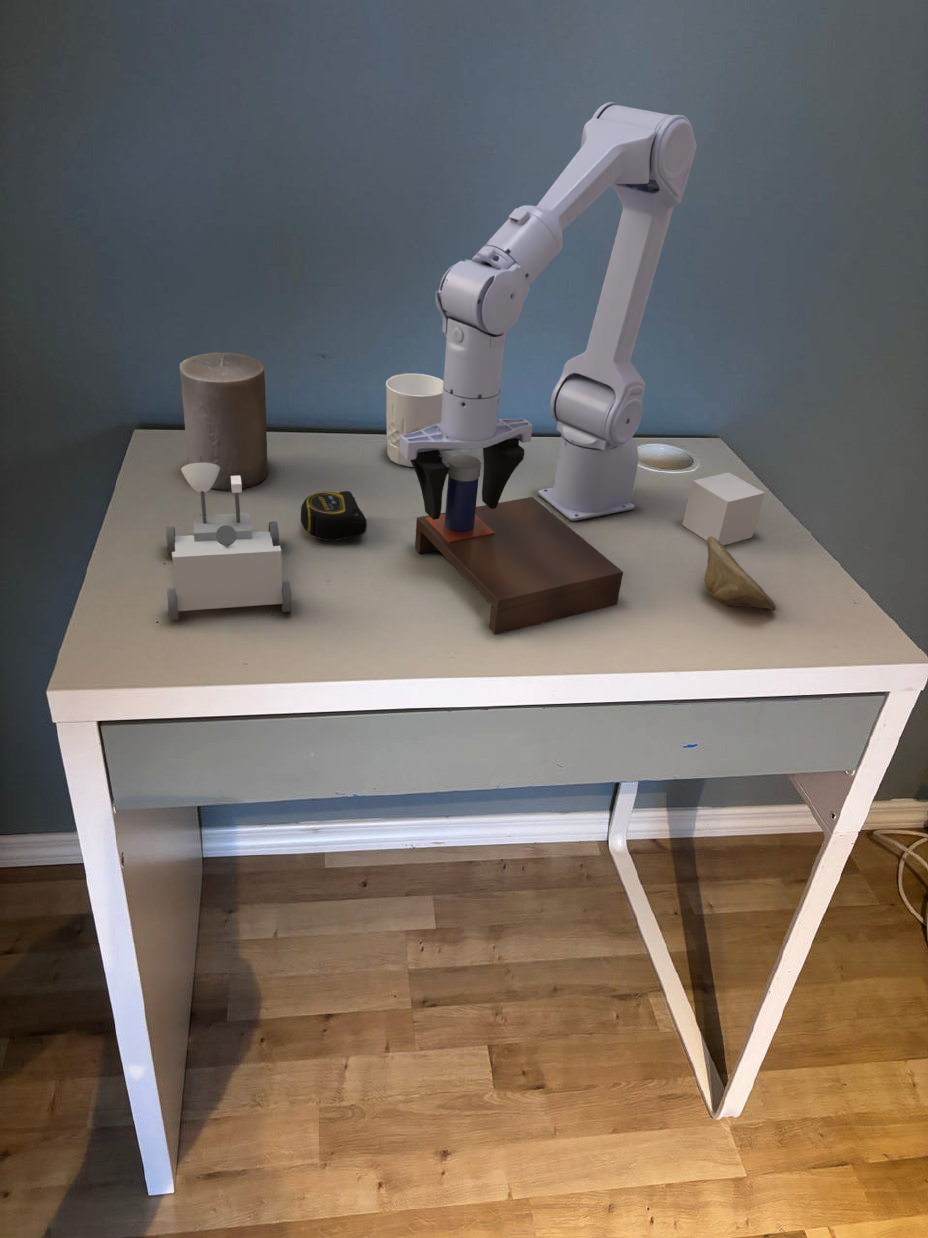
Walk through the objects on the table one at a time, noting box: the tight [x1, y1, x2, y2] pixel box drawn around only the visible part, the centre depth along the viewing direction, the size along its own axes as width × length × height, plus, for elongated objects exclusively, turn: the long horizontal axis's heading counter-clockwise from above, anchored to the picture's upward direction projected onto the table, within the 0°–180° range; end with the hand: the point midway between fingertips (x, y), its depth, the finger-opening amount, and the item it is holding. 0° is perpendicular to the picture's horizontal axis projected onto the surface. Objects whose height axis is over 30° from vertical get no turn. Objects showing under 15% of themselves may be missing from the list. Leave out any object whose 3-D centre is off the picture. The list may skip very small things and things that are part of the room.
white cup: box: [385, 373, 444, 468], centre depth 127 cm, size 8×8×10 cm
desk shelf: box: [414, 496, 624, 635], centre depth 106 cm, size 15×18×4 cm
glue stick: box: [444, 454, 482, 532], centre depth 105 cm, size 3×3×8 cm
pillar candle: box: [179, 352, 269, 491], centre depth 118 cm, size 10×10×15 cm
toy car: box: [165, 456, 293, 621], centre depth 100 cm, size 18×10×12 cm
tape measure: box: [300, 490, 368, 541], centre depth 111 cm, size 7×7×4 cm
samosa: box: [703, 536, 777, 611], centre depth 105 cm, size 9×4×10 cm
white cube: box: [682, 471, 765, 546], centre depth 118 cm, size 6×6×6 cm
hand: (461, 509), depth 106 cm, fingers open, 6 cm apart
